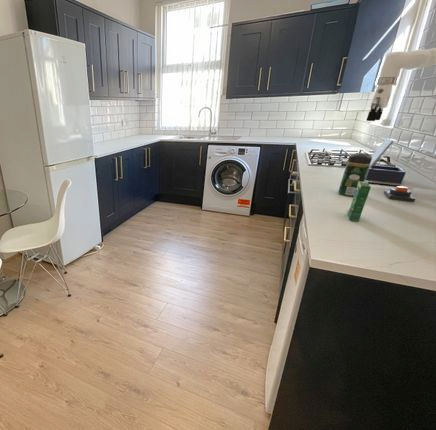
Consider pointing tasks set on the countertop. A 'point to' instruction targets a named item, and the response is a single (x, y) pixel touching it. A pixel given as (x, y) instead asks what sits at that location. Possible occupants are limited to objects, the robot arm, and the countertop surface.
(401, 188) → the button
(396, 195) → the control block
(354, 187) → the coffee jar
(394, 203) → the countertop surface
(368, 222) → the countertop surface
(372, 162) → the lid
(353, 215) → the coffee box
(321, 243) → the countertop surface
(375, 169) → the chest
